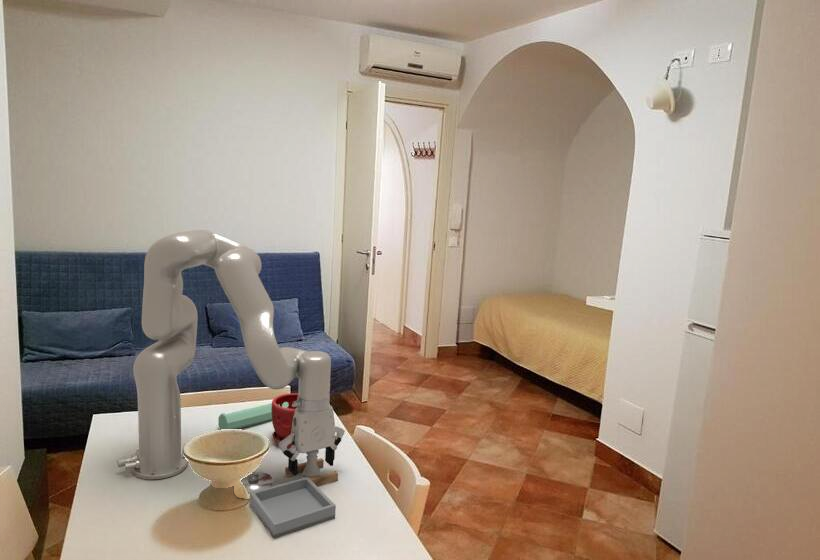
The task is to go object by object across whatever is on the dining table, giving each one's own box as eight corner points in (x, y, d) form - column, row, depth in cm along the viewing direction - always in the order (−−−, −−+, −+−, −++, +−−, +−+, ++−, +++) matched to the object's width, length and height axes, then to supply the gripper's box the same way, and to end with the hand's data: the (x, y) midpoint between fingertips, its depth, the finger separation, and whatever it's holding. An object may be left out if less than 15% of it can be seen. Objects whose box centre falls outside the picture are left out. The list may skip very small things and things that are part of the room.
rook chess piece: (316, 483, 134) (317, 453, 133) (299, 481, 135) (300, 450, 134) (323, 475, 138) (324, 445, 137) (306, 472, 139) (307, 442, 138)
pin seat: (300, 491, 130) (300, 483, 130) (285, 475, 137) (285, 467, 137) (337, 480, 136) (338, 473, 136) (321, 465, 143) (321, 458, 143)
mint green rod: (294, 392, 177) (220, 409, 159) (303, 404, 173) (229, 423, 155) (289, 406, 179) (216, 424, 161) (298, 418, 176) (225, 438, 158)
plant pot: (296, 455, 147) (298, 413, 146) (260, 442, 154) (261, 401, 152) (327, 438, 159) (328, 398, 157) (292, 426, 165) (293, 388, 163)
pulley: (241, 503, 124) (241, 490, 123) (228, 485, 131) (228, 472, 130) (278, 492, 129) (279, 480, 128) (264, 475, 136) (264, 463, 136)
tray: (274, 538, 112) (274, 525, 112) (249, 505, 123) (250, 492, 123) (335, 518, 120) (335, 505, 120) (307, 488, 132) (307, 476, 131)
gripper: (286, 414, 125) (284, 484, 128) (352, 401, 136) (349, 466, 138) (273, 403, 131) (272, 470, 134) (337, 391, 142) (335, 454, 144)
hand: (311, 468), depth 136 cm, fingers open, 9 cm apart
